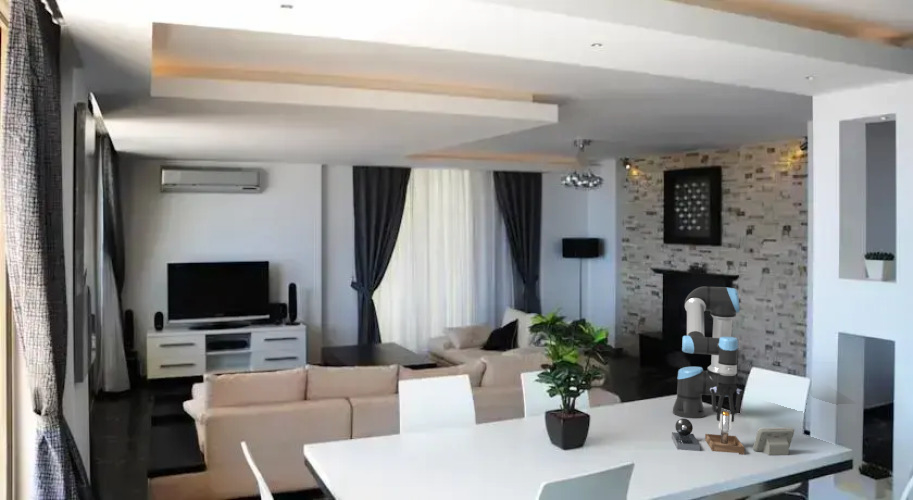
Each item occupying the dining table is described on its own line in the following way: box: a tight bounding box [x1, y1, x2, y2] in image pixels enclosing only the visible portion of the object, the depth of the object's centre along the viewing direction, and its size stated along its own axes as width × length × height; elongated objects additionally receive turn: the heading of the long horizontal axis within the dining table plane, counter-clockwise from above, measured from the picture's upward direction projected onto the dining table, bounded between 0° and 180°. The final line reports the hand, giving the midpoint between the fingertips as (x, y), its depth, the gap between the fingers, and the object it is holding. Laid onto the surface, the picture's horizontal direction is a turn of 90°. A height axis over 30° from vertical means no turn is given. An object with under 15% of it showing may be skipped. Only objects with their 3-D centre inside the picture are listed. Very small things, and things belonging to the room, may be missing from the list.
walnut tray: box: [704, 433, 745, 455], centre depth 302 cm, size 16×13×3 cm
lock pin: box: [720, 410, 730, 444], centre depth 301 cm, size 3×3×13 cm
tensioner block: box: [671, 418, 701, 452], centre depth 303 cm, size 16×9×10 cm, turn 171°
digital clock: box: [752, 427, 795, 456], centre depth 297 cm, size 16×9×11 cm, turn 87°
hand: (724, 428), depth 301 cm, fingers closed on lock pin, 3 cm apart
